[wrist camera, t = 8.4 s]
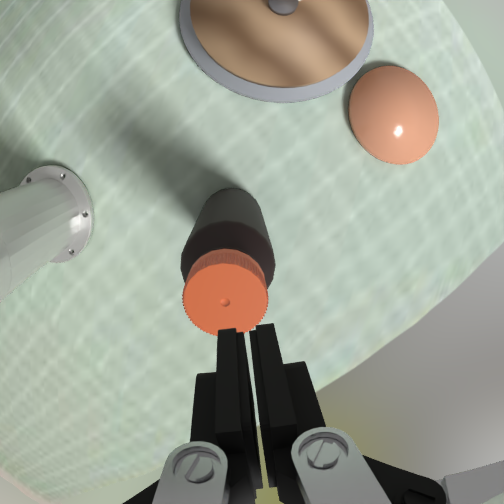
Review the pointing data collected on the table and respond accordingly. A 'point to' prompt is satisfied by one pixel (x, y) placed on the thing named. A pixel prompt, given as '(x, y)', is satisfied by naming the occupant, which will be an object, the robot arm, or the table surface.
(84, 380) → the table surface
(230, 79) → the wheel base
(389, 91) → the peach dome
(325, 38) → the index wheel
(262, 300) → the vinegar
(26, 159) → the table surface
